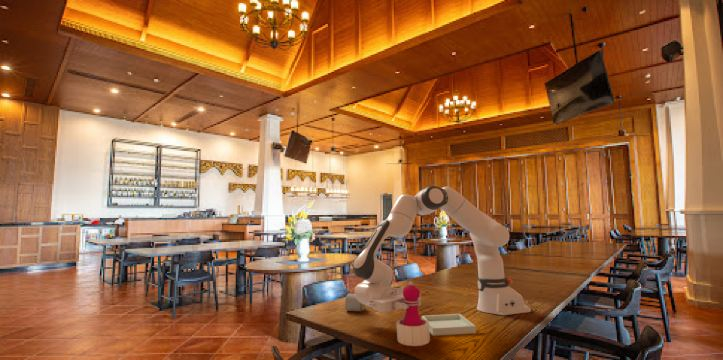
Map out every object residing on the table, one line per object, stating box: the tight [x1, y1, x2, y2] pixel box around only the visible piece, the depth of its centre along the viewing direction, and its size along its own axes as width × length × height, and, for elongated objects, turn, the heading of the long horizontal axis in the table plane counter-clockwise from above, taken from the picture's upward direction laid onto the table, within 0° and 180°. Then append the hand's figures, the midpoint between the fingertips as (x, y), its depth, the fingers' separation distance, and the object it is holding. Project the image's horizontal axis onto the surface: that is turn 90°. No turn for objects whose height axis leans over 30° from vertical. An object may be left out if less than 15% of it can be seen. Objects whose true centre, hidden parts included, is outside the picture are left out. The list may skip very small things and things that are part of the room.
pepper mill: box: [403, 280, 423, 326], centre depth 120 cm, size 7×7×20 cm
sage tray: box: [421, 313, 477, 337], centre depth 132 cm, size 16×16×2 cm
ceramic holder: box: [396, 317, 431, 347], centre depth 119 cm, size 11×11×6 cm
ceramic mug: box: [344, 293, 366, 312], centre depth 160 cm, size 11×8×8 cm
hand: (413, 304), depth 120 cm, fingers closed on pepper mill, 5 cm apart
